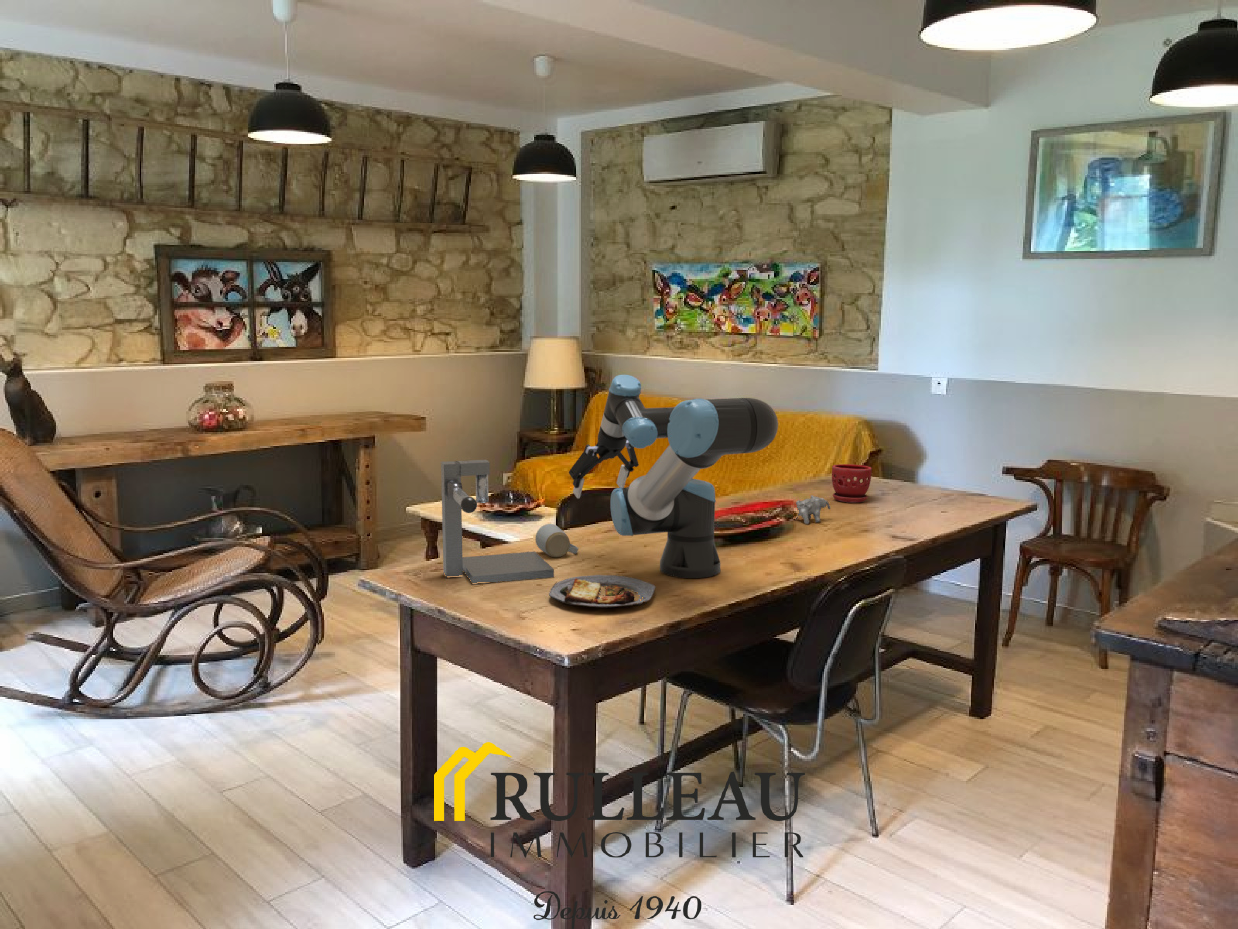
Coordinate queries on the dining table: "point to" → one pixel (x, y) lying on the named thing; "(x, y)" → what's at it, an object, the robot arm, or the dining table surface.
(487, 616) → the dining table surface
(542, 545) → the ceramic mug
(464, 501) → the lever
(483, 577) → the press
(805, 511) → the elephant statuette
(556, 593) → the food plate
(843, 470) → the plant pot
